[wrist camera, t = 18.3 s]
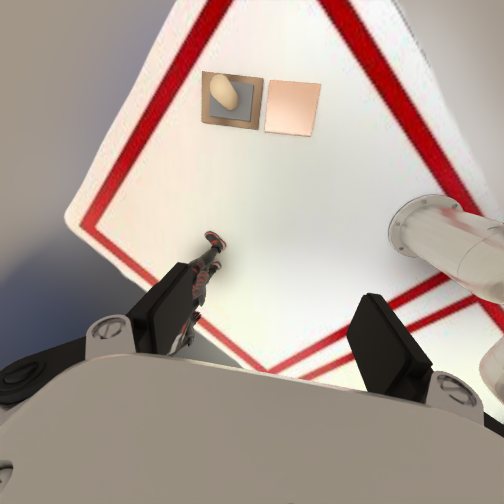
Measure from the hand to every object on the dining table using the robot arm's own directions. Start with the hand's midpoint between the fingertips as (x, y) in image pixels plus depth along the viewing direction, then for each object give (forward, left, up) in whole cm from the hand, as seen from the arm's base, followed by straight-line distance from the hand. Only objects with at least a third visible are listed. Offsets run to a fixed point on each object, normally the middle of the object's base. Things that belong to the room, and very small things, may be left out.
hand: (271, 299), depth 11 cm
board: (+10, -14, -33) cm, 38 cm away
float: (+10, -14, -32) cm, 37 cm away
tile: (-4, -14, -33) cm, 36 cm away
